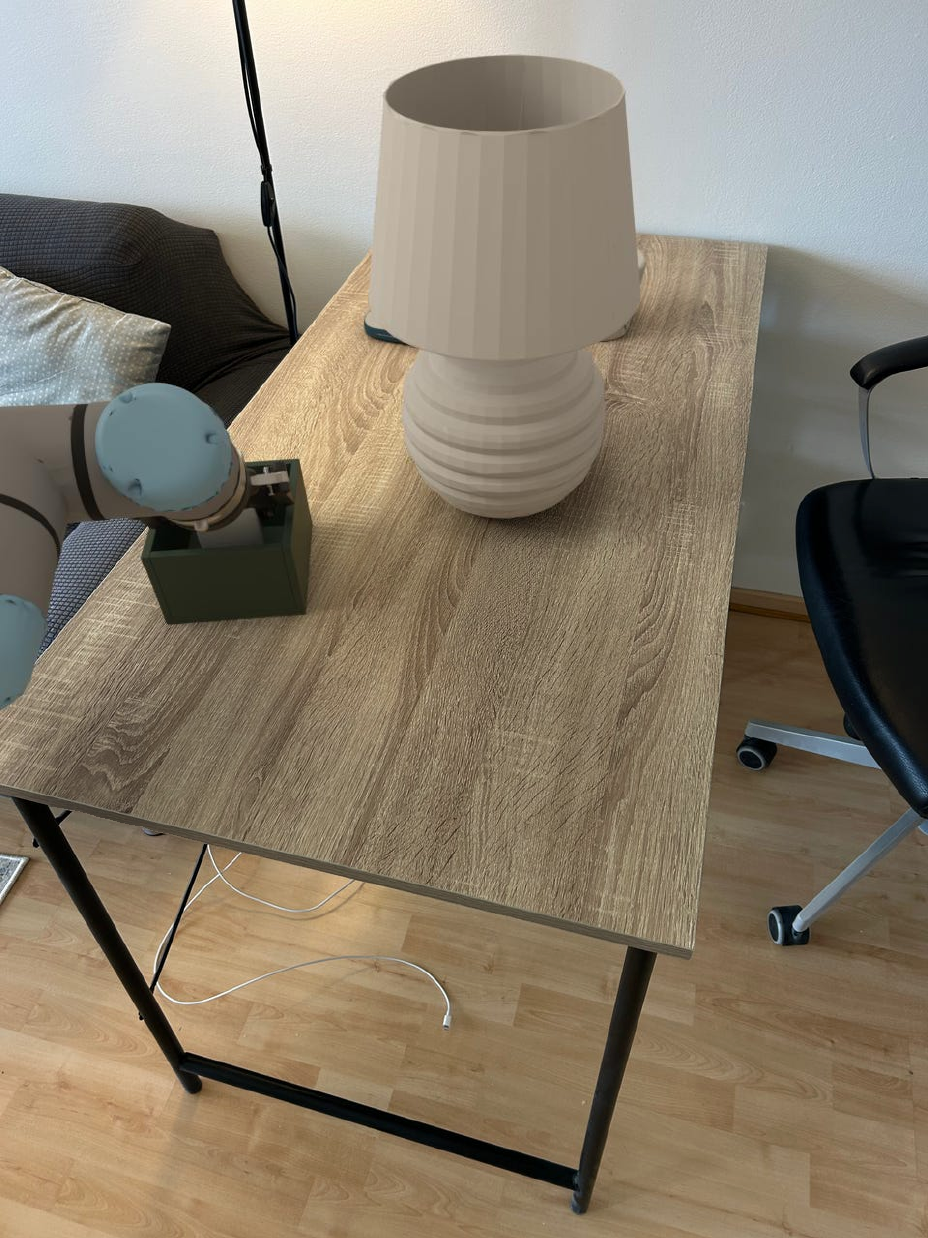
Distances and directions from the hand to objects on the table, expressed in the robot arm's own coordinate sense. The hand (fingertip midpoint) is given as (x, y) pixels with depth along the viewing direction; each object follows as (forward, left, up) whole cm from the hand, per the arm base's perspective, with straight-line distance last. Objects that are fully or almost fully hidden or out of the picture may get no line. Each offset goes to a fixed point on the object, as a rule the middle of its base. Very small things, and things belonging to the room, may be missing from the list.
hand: (230, 512), depth 91 cm
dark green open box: (+1, -4, -5) cm, 6 cm away
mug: (+44, +42, -5) cm, 61 cm away
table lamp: (+29, +7, -5) cm, 30 cm away
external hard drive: (+22, +51, -5) cm, 56 cm away
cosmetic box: (+1, -4, -4) cm, 5 cm away
